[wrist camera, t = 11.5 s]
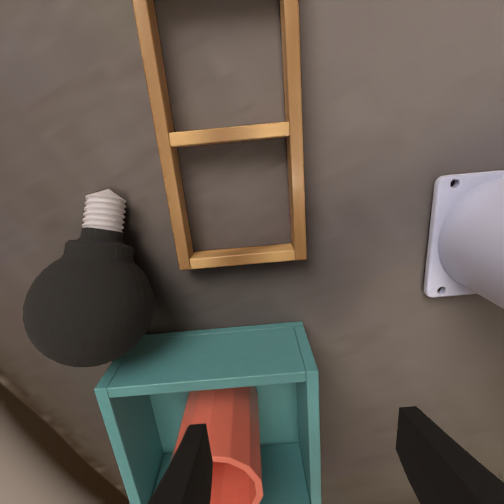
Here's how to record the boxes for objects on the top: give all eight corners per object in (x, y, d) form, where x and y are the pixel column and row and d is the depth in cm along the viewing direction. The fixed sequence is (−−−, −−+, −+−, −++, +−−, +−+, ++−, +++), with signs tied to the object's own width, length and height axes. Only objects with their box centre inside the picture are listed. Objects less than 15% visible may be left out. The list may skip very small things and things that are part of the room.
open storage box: (302, 320, 21) (318, 370, 16) (306, 440, 24) (321, 512, 19) (129, 335, 21) (93, 389, 16) (159, 452, 24) (136, 526, 19)
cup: (254, 365, 21) (257, 451, 15) (261, 422, 23) (266, 521, 16) (182, 372, 21) (155, 460, 15) (194, 428, 23) (174, 529, 16)
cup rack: (292, -31, 14) (297, -52, 13) (302, 252, 19) (306, 259, 18) (137, -15, 15) (125, -35, 13) (184, 262, 19) (179, 270, 18)
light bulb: (123, 170, 13) (99, 396, 13) (181, 203, 19) (167, 355, 19) (7, 168, 14) (-21, 375, 14) (97, 200, 21) (81, 343, 20)
